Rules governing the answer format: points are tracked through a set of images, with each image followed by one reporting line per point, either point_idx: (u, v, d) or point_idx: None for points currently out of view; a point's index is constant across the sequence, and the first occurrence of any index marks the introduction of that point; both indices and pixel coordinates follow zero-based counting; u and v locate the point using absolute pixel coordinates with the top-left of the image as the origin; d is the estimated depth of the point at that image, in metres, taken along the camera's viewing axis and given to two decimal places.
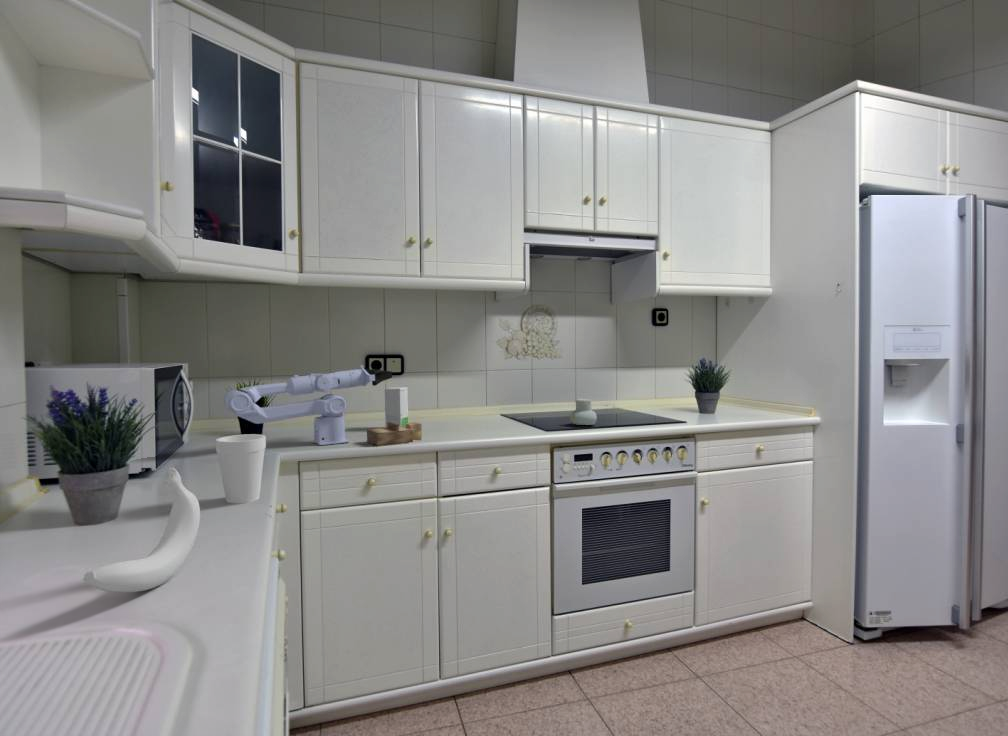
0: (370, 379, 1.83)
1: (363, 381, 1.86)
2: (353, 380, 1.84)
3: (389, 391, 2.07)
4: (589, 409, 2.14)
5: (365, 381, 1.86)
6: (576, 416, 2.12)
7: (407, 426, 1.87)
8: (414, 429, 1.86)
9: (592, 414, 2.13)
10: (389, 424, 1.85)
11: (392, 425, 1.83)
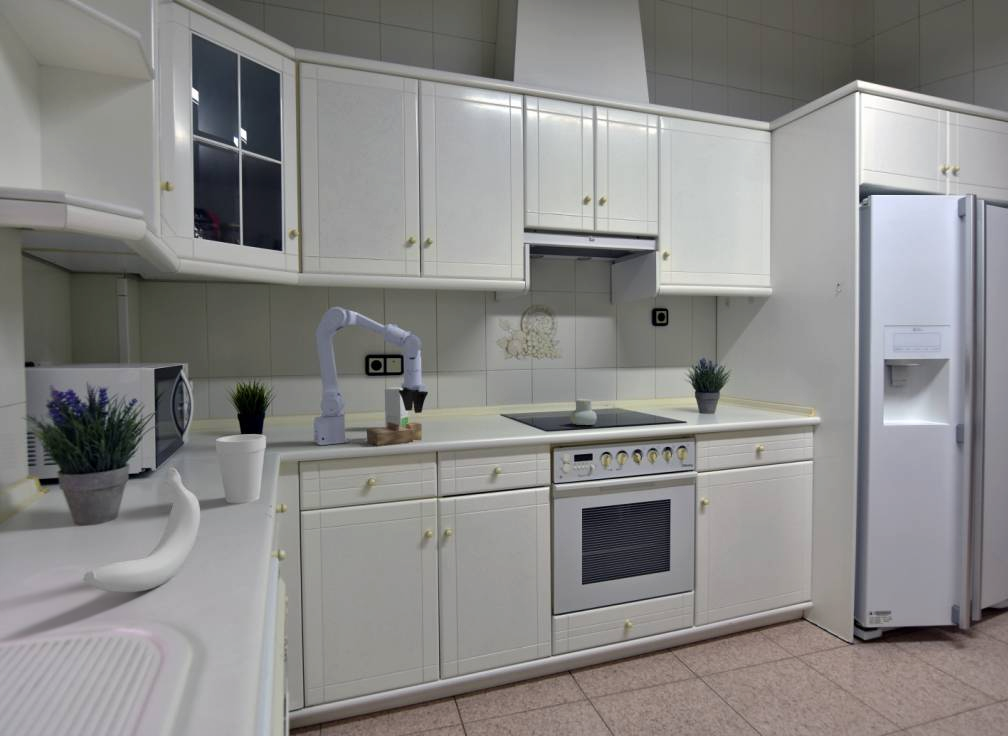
0: (421, 386, 1.81)
1: (412, 383, 1.84)
2: (415, 373, 1.84)
3: (389, 391, 2.07)
4: (589, 409, 2.14)
5: None
6: (576, 416, 2.12)
7: (407, 426, 1.87)
8: (414, 429, 1.86)
9: (592, 414, 2.13)
10: (389, 424, 1.85)
11: (392, 425, 1.83)
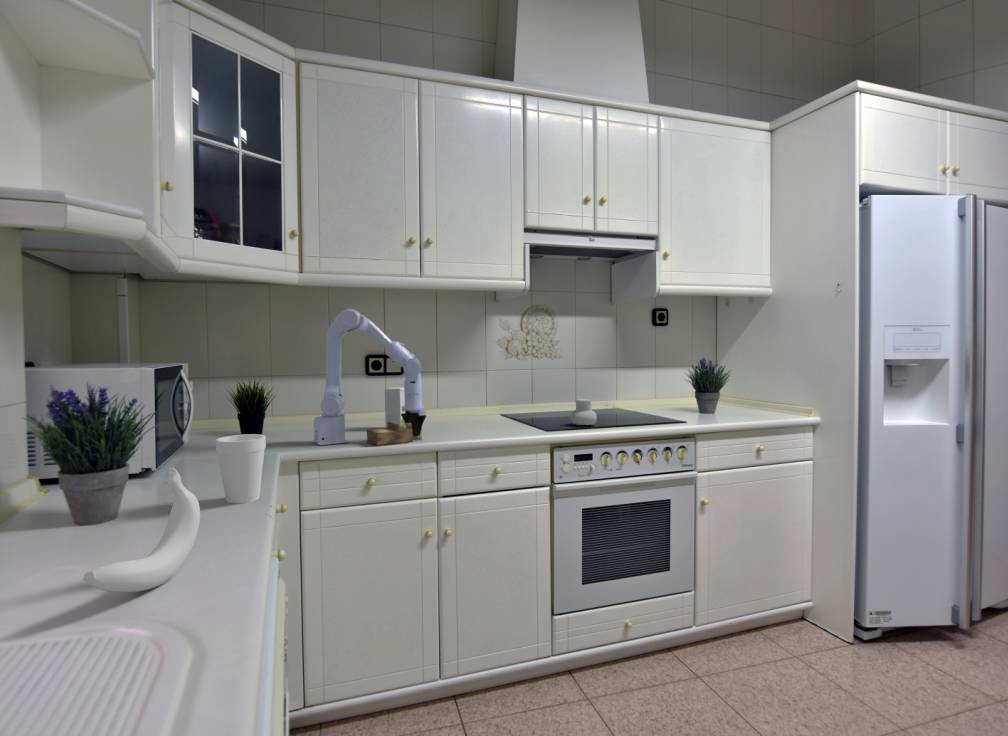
0: (421, 410, 1.81)
1: (413, 407, 1.85)
2: (415, 396, 1.85)
3: (388, 391, 2.07)
4: (589, 409, 2.14)
5: (413, 409, 1.84)
6: (576, 416, 2.12)
7: (407, 426, 1.87)
8: None
9: (592, 414, 2.13)
10: (389, 424, 1.85)
11: (392, 425, 1.83)
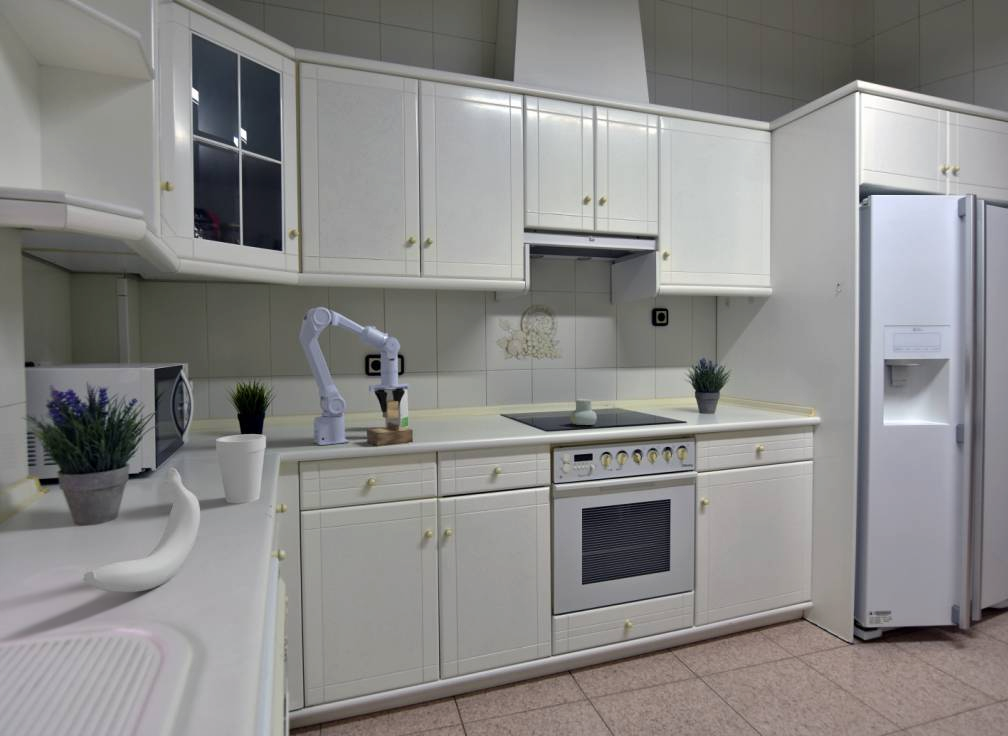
0: (369, 386, 1.89)
1: (381, 383, 1.92)
2: (381, 373, 1.92)
3: (389, 391, 2.07)
4: (589, 409, 2.14)
5: (380, 385, 1.92)
6: (576, 416, 2.12)
7: None
8: None
9: (592, 414, 2.13)
10: (389, 424, 1.85)
11: (392, 425, 1.83)
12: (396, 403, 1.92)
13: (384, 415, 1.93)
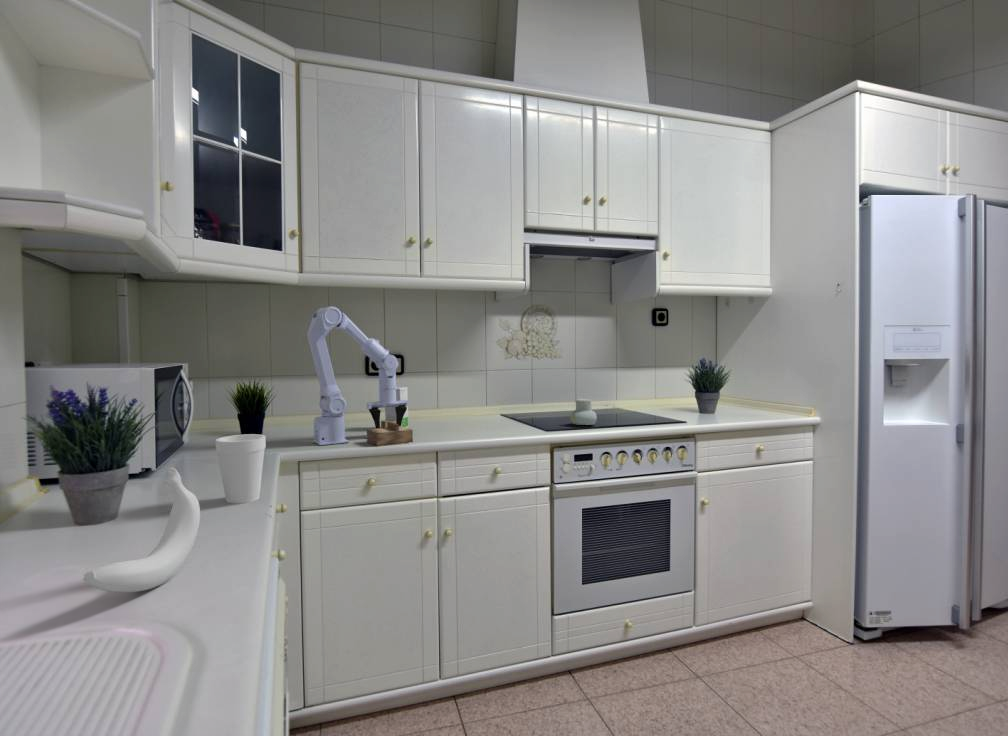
0: (367, 403, 1.90)
1: (379, 400, 1.94)
2: (379, 390, 1.93)
3: None
4: (589, 409, 2.14)
5: (378, 402, 1.94)
6: (576, 416, 2.12)
7: None
8: (382, 426, 1.94)
9: (592, 414, 2.13)
10: (389, 424, 1.85)
11: (392, 425, 1.83)
12: None
13: None
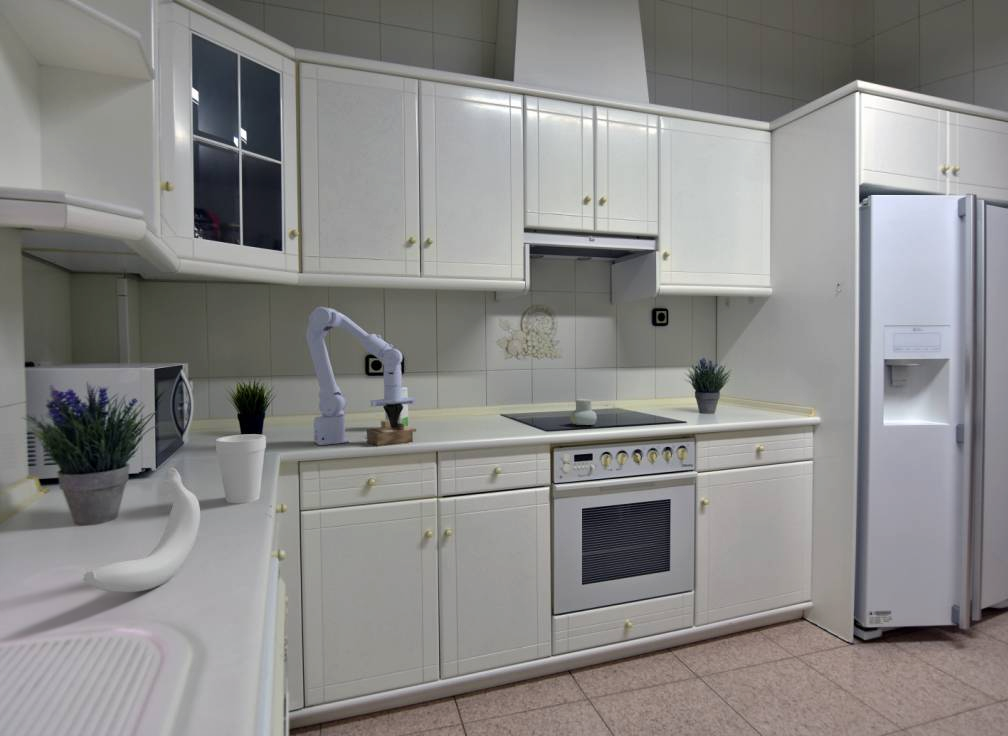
0: (371, 401, 1.80)
1: (384, 398, 1.83)
2: (384, 387, 1.82)
3: None
4: (589, 409, 2.14)
5: (383, 400, 1.83)
6: (576, 416, 2.12)
7: None
8: (382, 426, 1.94)
9: (592, 414, 2.13)
10: None
11: (397, 425, 1.84)
12: None
13: None
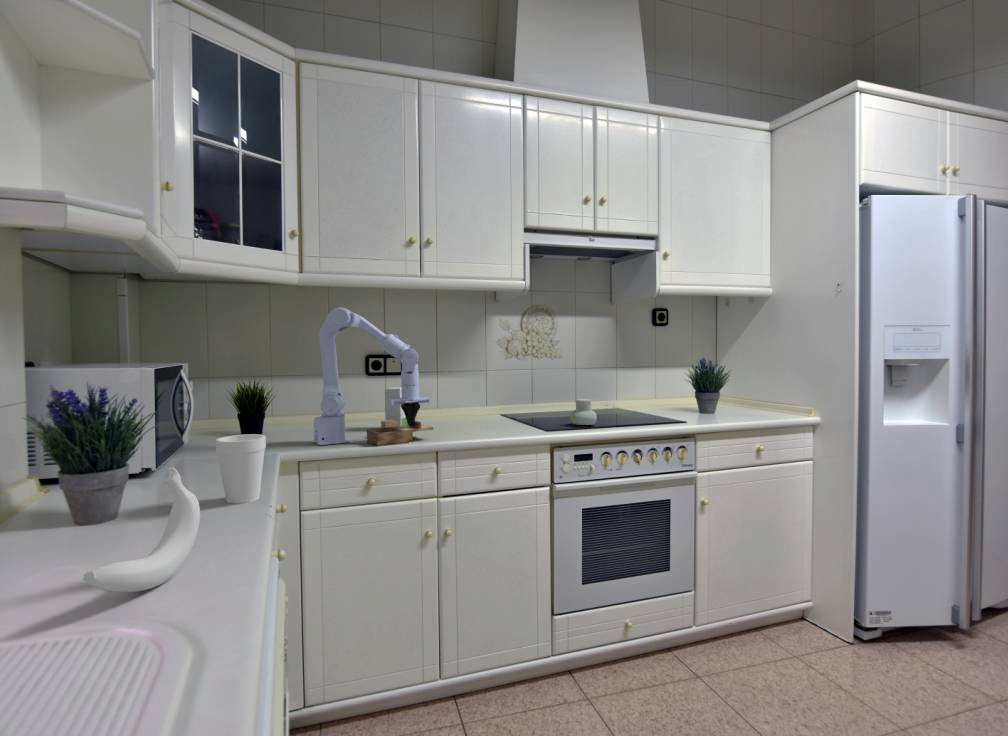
0: (389, 400, 1.83)
1: None
2: (401, 386, 1.85)
3: (388, 391, 2.07)
4: (589, 409, 2.14)
5: (401, 398, 1.86)
6: (576, 416, 2.12)
7: None
8: (382, 426, 1.94)
9: (592, 414, 2.13)
10: None
11: (414, 423, 1.87)
12: (394, 423, 1.93)
13: None
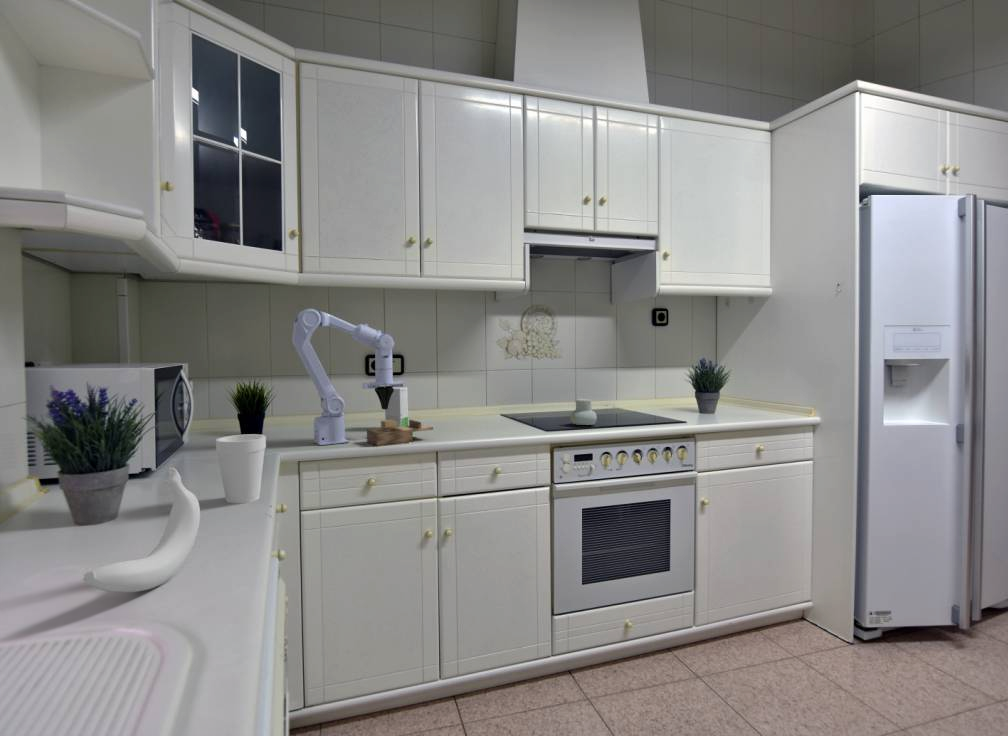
0: (363, 383, 1.87)
1: None
2: (375, 371, 1.89)
3: None
4: (589, 409, 2.14)
5: (375, 382, 1.90)
6: (576, 416, 2.12)
7: None
8: (382, 426, 1.94)
9: (592, 414, 2.13)
10: (411, 422, 1.89)
11: (414, 423, 1.87)
12: (394, 423, 1.93)
13: None
